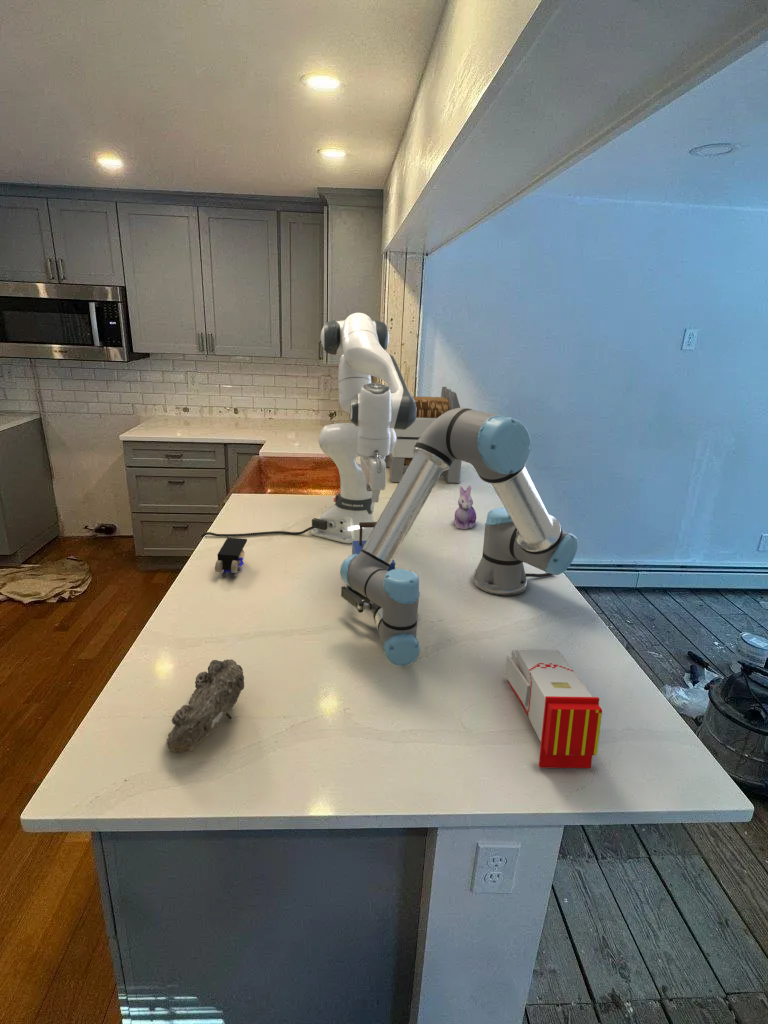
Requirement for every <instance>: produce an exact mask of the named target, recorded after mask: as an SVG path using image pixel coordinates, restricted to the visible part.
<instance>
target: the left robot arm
mask: <svg viewBox="0 0 768 1024" xmlns="http://www.w3.org/2000/svg"><path fill="white" fill-rule="evenodd" d="M389 343H390V332H389V329H388V325H387V324H386V323H385V322H384V321H381V320H376V319H375V320H372V318H371V317H370V316H369V315H367V314H366V313H363V312H353V313H351V314H350V315H348V316H347V317H346V318H345V319H344V320H336V319H335V320H329V321H326V322H325V323H324V324H323V326H322V329H321V331H320V344H321V346H322V348H323V351H324V352H325V353H327V354H328V355H333V356H336V355H340V358H339V361H338V362H339V363H338V373H337V383H338V385H337V387H338V403H339V406H340V408H341V409H342V410H343V412H345V413H346V414H348V415H349V418H348V419H349V421H350V422H336V423H330V424H326V425H323V427H322V429H321V430H320V432H319V435H318V445H319V447H320V450H321V451H322V452H323V454H325V455H326V456H328V457H329V458H330V459H331V460H332V462H333V463H334V464H335V466H336V467H337V470H338V474H339V483H340V484H339V485H340V488H339V489H340V490H339V491H338V492H337V494H336V495H335V496H334V497H333V502H334V504H333V505H331V506H329V507H328V508H326V509H325V510H323V512H321V514H320V515H319V517H318V518H316V517H314V518H312V519H311V526H309V527H308V528H305V529H304V530H302V531H286V530H285V531H284V530H273V531H259V532H247V533H216V532H211V531H207V532H204V533H203V534H201V535H200V538H204V537H205V536H214V537H223V538H225V537H226V538H236V537H250V536H251V537H252V536H263V535H277V534H281V535H282V534H284V535H293V536H298V535H304V534H305V533H307V532H309V531H310V533H311V536H315V537H319V538H323V539H326V540H330V541H336V542H339V543H343V544H352V541H359V534H360V528H359V522H374V513H373V512H374V509H375V503H379V501H380V493H381V491H384V490H385V489H386V487H387V486H386V485H387V484H386V483H387V477H386V476H387V469H386V467H387V466H386V465H385V461H384V460H385V456H387V455H389V454H390V453H391V452H392V451H393V450H394V448H395V446H396V442H397V437H396V433H395V431H394V429H402V430H405V429H407V428H408V427H409V426H411V425H412V424H413V423H414V422H415V420H416V414H417V409H416V404H415V401H414V399H413V397H412V396H413V395H412V394H411V392H410V391H409V389H408V386H407V384H406V381H405V379H404V376H403V374H402V373H401V370H400V368H399V365H398V364H397V361H396V359H395V357H394V356H393V355H392V354H391V353H389V352H387V351H386V350H387V349H388V346H389ZM372 377H374V378H376V379H377V378H378V379H380V380H382V382H383V381H384V382H385V383H386V384H383V383H378V382H372ZM393 428H394V429H393ZM358 457H359V458H360V460H359V461H360V463H359V462H357V458H358ZM373 528H374V527H372V528H362V541H367V539H368V537H369V535H370V534H371V532H372V530H373Z"/></svg>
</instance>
